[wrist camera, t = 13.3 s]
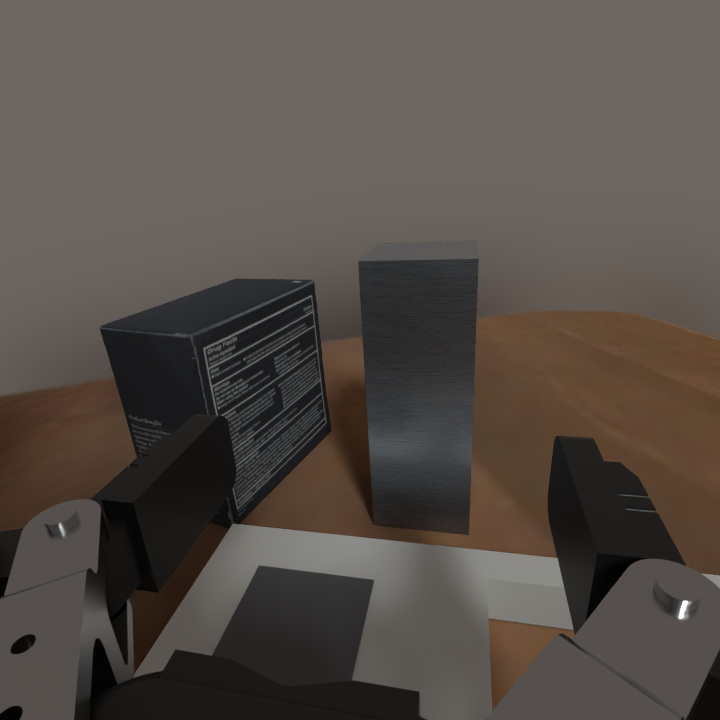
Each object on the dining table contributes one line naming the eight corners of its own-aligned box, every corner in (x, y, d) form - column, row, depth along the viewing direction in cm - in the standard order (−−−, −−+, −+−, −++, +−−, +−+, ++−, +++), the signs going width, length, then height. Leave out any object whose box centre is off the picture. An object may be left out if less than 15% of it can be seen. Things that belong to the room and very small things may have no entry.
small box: (257, 415, 35) (235, 274, 31) (334, 430, 32) (321, 278, 29) (141, 502, 26) (91, 320, 23) (234, 533, 24) (195, 333, 20)
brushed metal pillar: (373, 524, 24) (358, 261, 19) (388, 470, 28) (378, 243, 23) (468, 534, 23) (478, 258, 18) (469, 477, 27) (477, 240, 22)
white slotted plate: (105, 790, 14) (85, 745, 13) (239, 558, 22) (232, 521, 21) (1565, 1158, 8) (1690, 1115, 7) (1008, 653, 16) (1038, 607, 15)
